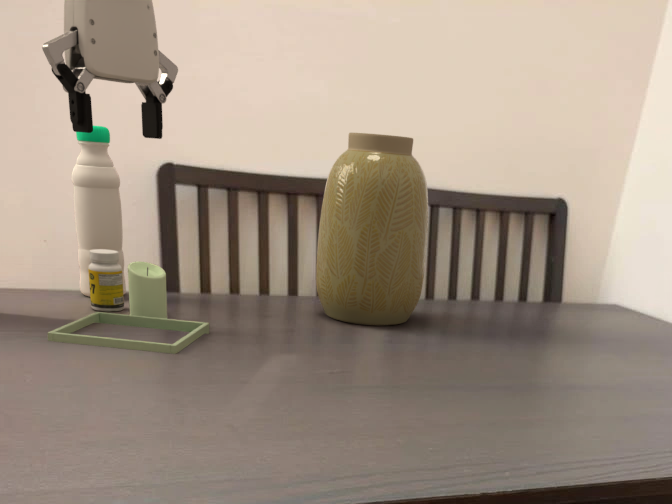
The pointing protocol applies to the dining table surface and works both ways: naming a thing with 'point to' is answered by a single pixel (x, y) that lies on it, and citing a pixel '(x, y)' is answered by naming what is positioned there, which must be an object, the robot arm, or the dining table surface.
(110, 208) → the water bottle
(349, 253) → the vase
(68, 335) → the tray
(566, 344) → the dining table surface
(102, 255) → the supplement bottle
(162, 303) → the candle
